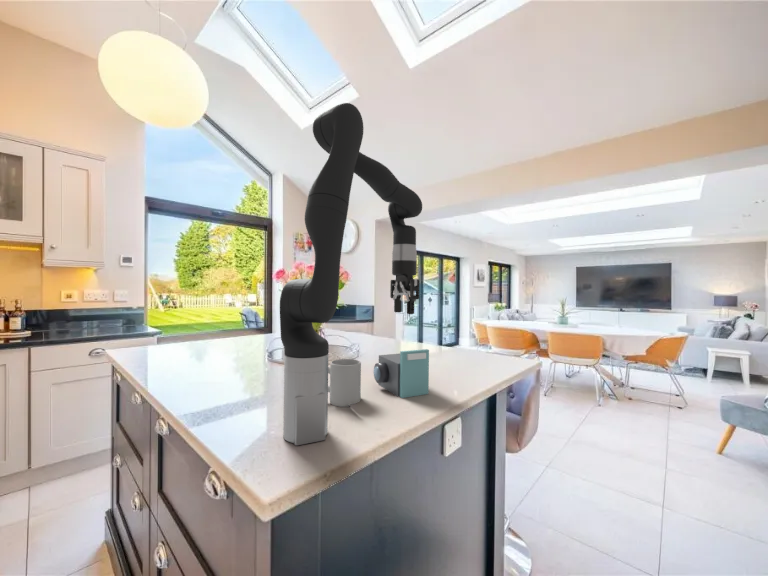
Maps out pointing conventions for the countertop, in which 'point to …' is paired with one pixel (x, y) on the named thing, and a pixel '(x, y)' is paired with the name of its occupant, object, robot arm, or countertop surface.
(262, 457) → the countertop surface
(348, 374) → the mug
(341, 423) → the countertop surface
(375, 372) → the camera box
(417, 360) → the side door
